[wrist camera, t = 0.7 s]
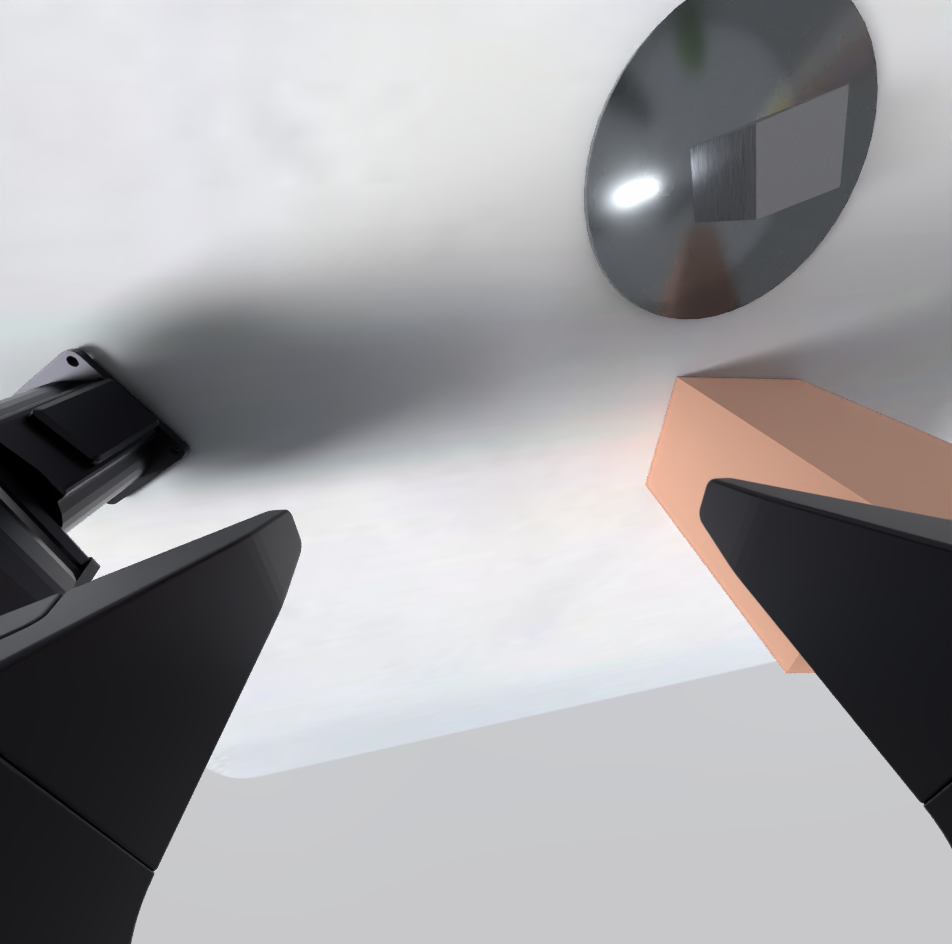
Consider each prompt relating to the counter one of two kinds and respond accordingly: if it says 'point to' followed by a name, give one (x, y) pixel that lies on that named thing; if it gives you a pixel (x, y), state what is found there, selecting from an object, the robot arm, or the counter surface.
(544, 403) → the counter surface
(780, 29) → the brushed steel disc
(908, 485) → the salmon pink tower
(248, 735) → the counter surface
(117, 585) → the robot arm
